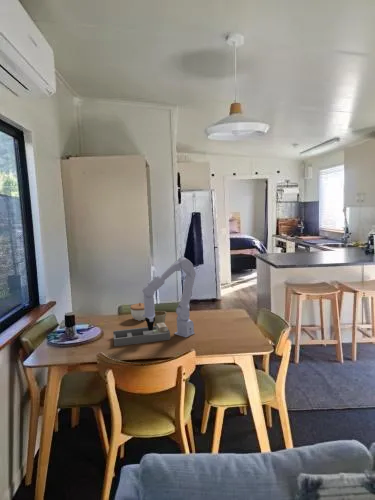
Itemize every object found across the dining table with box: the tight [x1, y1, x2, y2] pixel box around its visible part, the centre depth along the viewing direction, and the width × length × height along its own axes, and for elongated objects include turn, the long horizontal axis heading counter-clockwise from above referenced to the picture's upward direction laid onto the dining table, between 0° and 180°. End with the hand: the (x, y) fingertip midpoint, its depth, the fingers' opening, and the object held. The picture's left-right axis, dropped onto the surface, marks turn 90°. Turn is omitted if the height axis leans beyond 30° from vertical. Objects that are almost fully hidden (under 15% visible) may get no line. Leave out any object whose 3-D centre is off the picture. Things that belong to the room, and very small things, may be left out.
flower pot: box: [153, 310, 167, 326], centre depth 216 cm, size 9×9×9 cm
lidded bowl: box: [130, 302, 146, 322], centre depth 232 cm, size 13×13×11 cm
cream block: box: [156, 322, 168, 333], centre depth 201 cm, size 4×8×4 cm, turn 17°
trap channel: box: [112, 325, 171, 347], centre depth 198 cm, size 30×13×4 cm, turn 103°
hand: (150, 330), depth 199 cm, fingers closed
